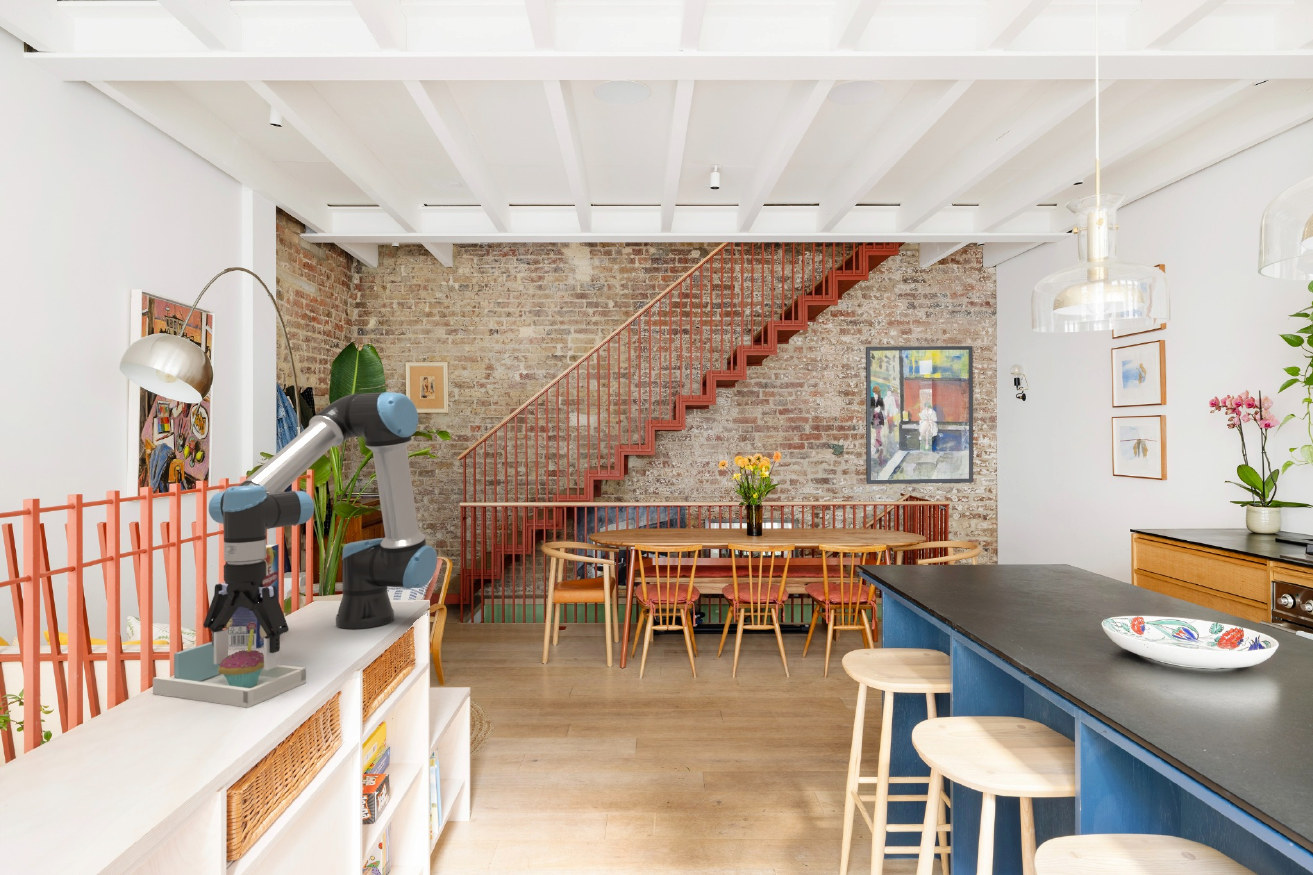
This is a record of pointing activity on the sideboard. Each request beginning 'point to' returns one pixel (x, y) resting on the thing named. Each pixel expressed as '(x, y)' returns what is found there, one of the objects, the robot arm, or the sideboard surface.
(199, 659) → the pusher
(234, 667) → the cupcake
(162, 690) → the white shallow tray
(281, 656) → the sideboard surface
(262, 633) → the juice carton
